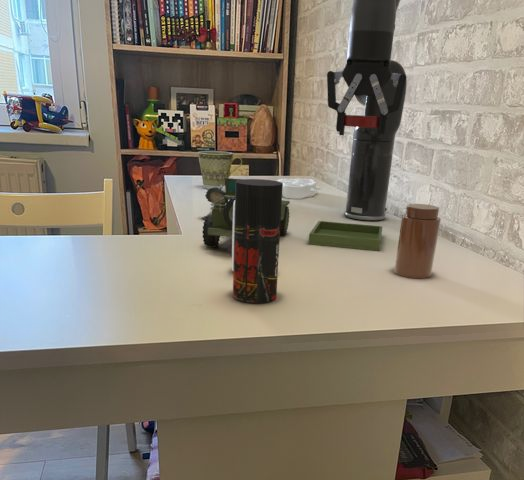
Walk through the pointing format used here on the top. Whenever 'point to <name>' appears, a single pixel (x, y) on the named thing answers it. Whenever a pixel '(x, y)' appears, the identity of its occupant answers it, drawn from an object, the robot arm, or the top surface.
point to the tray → (346, 235)
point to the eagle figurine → (214, 197)
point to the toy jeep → (231, 216)
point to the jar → (417, 241)
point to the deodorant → (256, 239)
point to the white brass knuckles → (298, 188)
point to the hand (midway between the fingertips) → (360, 135)
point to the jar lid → (361, 121)
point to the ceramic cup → (216, 167)
